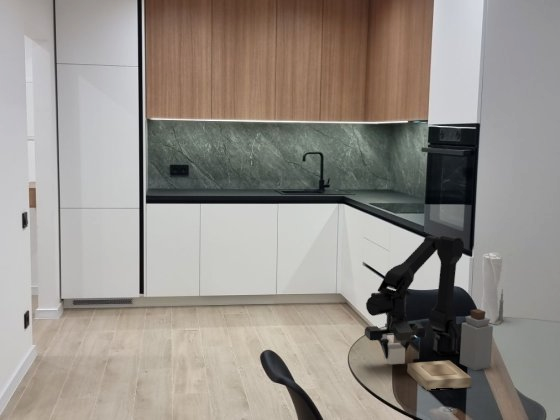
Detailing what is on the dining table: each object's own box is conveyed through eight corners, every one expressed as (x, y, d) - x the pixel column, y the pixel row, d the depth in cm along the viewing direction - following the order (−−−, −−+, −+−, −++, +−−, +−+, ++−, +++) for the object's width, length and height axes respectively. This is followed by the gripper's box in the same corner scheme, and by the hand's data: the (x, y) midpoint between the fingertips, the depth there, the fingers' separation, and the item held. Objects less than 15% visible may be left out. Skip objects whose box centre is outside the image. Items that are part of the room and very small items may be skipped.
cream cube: (398, 357, 219) (399, 342, 218) (404, 363, 214) (405, 348, 213) (384, 358, 218) (384, 343, 217) (389, 364, 213) (390, 349, 212)
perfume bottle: (474, 370, 213) (477, 315, 211) (459, 363, 219) (462, 309, 217) (490, 367, 217) (493, 312, 214) (475, 360, 222) (478, 306, 220)
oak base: (449, 369, 214) (449, 359, 213) (470, 387, 200) (470, 376, 200) (407, 372, 211) (407, 362, 211) (426, 390, 197) (426, 380, 197)
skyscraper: (497, 326, 258) (501, 254, 254) (476, 322, 262) (480, 251, 258) (503, 320, 265) (507, 250, 261) (482, 317, 269) (486, 248, 265)
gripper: (376, 319, 204) (375, 369, 206) (434, 316, 208) (432, 365, 210) (364, 309, 215) (363, 356, 217) (419, 306, 219) (417, 352, 221)
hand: (394, 357), depth 216 cm, fingers closed on cream cube, 5 cm apart
